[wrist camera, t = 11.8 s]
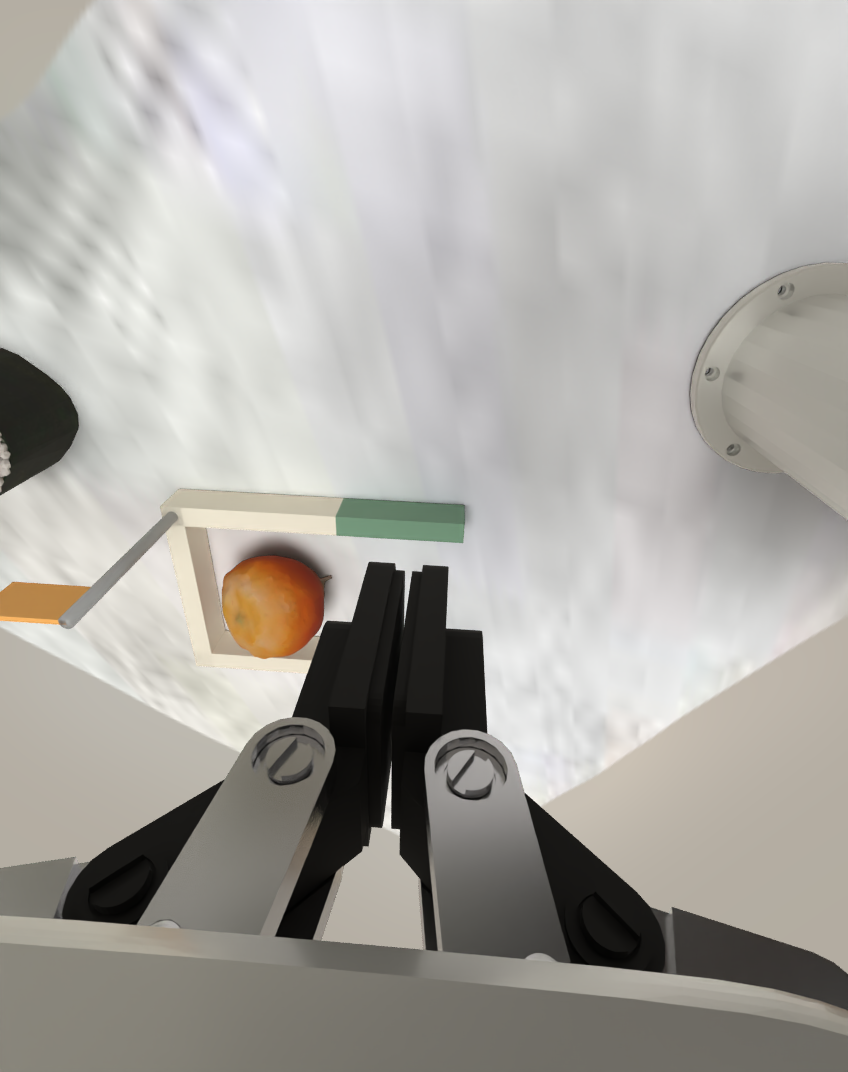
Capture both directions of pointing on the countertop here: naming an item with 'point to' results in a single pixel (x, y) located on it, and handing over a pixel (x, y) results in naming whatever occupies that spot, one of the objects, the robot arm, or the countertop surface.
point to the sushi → (31, 421)
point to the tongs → (194, 565)
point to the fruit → (273, 605)
